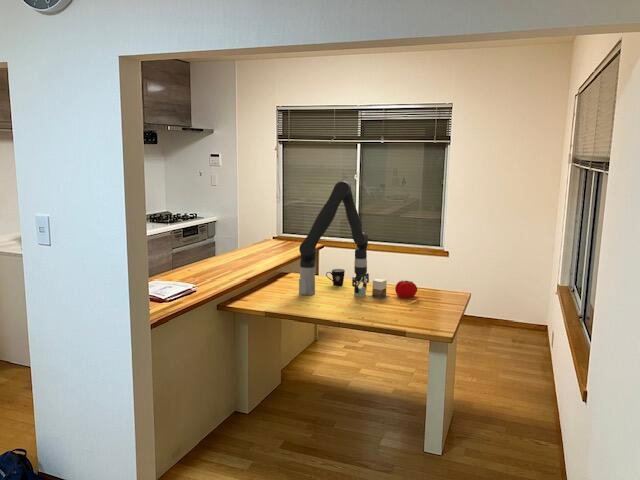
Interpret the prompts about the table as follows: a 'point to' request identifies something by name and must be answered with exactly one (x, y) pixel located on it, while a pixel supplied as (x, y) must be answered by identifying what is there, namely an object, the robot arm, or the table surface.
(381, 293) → the walnut block
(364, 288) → the sage block
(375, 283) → the cream block
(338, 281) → the coffee mug
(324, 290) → the table surface
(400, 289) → the tomato
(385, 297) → the slate coaster
